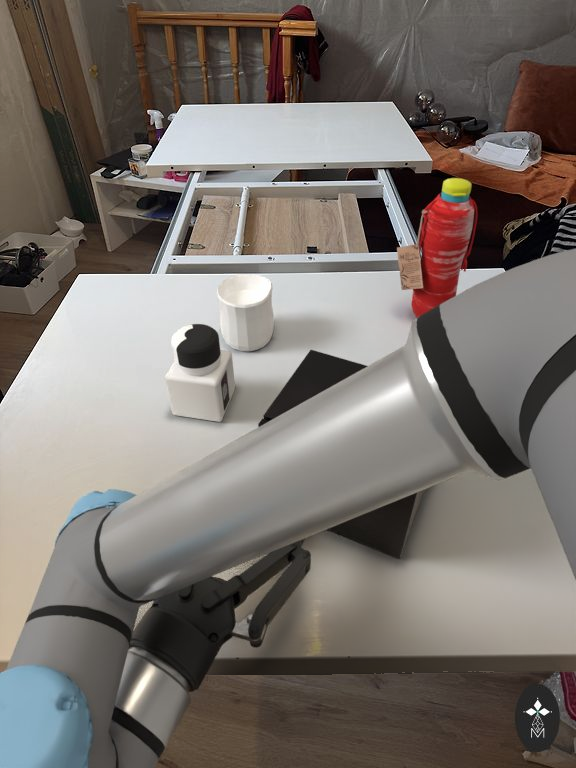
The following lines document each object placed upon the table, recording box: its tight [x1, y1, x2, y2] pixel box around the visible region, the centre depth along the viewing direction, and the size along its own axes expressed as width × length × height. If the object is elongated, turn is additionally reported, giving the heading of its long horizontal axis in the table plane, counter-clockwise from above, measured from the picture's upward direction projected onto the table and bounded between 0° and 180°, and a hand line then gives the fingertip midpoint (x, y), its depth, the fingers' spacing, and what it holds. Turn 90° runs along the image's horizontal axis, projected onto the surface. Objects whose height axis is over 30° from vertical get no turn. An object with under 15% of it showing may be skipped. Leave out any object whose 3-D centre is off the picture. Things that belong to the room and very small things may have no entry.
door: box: [257, 417, 418, 560], centre depth 58 cm, size 7×18×15 cm, turn 64°
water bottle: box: [396, 177, 479, 318], centre depth 90 cm, size 12×8×25 cm, turn 89°
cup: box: [216, 273, 275, 352], centre depth 91 cm, size 10×10×10 cm
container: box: [164, 323, 236, 423], centre depth 77 cm, size 8×8×13 cm
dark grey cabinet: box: [262, 349, 425, 550], centre depth 65 cm, size 13×18×15 cm
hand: (275, 480), depth 61 cm, fingers open, 8 cm apart
